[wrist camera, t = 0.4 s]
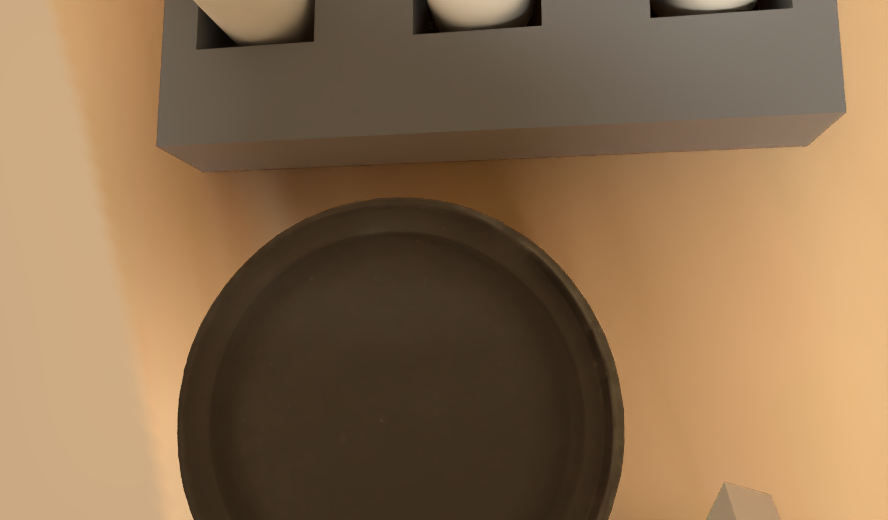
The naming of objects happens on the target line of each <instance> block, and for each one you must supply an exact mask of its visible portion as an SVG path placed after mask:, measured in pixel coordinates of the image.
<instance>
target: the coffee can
mask: <svg viewBox="0 0 888 520" xmlns="http://www.w3.org/2000/svg"><path fill="white" fill-rule="evenodd" d="M177 435H178V457H179V463H180V472H181V478H182V483H183V488H184V492H185V495H186V498H187V501H188V505H189V508H190V511H191V514H192V516H193V519H194V520H608V518H609V515H610V513H611V510H612V506H613V503H614V499H615V495H616V492H617V488H618V484H619V481H620V477H621V471H622V464H623V453H624V408H623V401H622V395H621V390H620V384H619V379H618V374H617V370H616V366H615V362H614V359H613V356H612V353H611V350H610V347H609V345H608V342H607V339H606V337H605V334H604V332H603V330H602V328H601V326H600V324H599V323H598V321H597V319H596V317H595V315H594V313H593V311H592V309H591V307H590V306H589V304H588V303H587V301H586V299H585V298H584V297H583V295H582V294H581V293H580V291H579V290H578V288H577V287H576V286H575V284H574V283H573V282H572V280H571V279H570V278H569V277H568V275H567V274H566V273H565V272H564V271H563V270H562V268H561V267H560V266H559V265H558V264H557V263H556V262H555V261H554V260H553V259H552V258H551V257H550V256H549V255H548V254H547V253H545V252H544V251H543V250H542V249H541V248H540V247H538V246H537V245H536V244H535V243H533V242H532V241H531V240H530V239H528V238H527V237H525V236H524V235H522V234H520V233H519V232H517V231H515V230H513V229H512V228H510V227H508V226H507V225H505V224H503V223H502V222H500V221H498V220H496V219H494V218H492V217H490V216H487V215H485V214H482V213H480V212H477V211H475V210H472V209H469V208H466V207H463V206H459V205H456V204H452V203H447V202H441V201H436V200H430V199H420V198H380V199H373V200H369V201H360V202H354V203H350V204H346V205H342V206H339V207H336V208H332V209H329V210H326V211H324V212H321V213H319V214H317V215H314V216H312V217H309V218H307V219H305V220H303V221H301V222H299V223H297V224H295V225H294V226H292V227H290V228H289V229H287V230H285V231H283V232H282V233H280V234H278V235H277V236H276V237H274V238H273V239H272V240H271V241H269V242H268V243H267V244H266V245H264V246H263V247H262V248H260V249H259V250H258V251H257V252H256V253H255V254H254V255H253V256H252V257H251V258H250V259H249V260H248V261H247V262H246V263H245V264H244V265H243V266H242V267H241V268H240V269H239V270H238V271H237V272H236V273H235V274H234V276H233V277H232V278H231V279H230V280H229V282H228V283H227V284H226V285H225V287H224V288H223V290H222V291H221V292H220V294H219V295H218V297H217V298H216V300H215V301H214V302H213V304H212V305H211V307H210V309H209V311H208V313H207V314H206V316H205V318H204V320H203V321H202V323H201V325H200V327H199V330H198V332H197V334H196V337H195V339H194V341H193V344H192V346H191V349H190V352H189V355H188V358H187V363H186V366H185V368H184V375H183V380H182V385H181V390H180V396H179V406H178V430H177Z"/></svg>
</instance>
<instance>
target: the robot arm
mask: <svg viewBox="0 0 888 520" xmlns="http://www.w3.org/2000/svg"><path fill="white" fill-rule="evenodd" d="M706 520H781V519H780V516H779V514H778V511H777V509H776V506H775V504H774V501H773V499H772V496H771V495H770V494H766V493H763V492H759V491H756V490H752V489H748V488H745V487H741V486H738V485H734V484H730V483H727V482H724V484H723V486H722V488H721V490H720V492H719V494H718V496H717V498H716V500H715V502H714V504H713V506H712V508H711V510H710V512H709V514H708V516H707V518H706Z"/></svg>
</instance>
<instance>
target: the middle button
mask: <svg viewBox="0 0 888 520" xmlns="http://www.w3.org/2000/svg"><path fill="white" fill-rule="evenodd" d="M427 3H428V6H429V9H430V11H431V14H432V17H433V20H434V23H435V25H436V27H437V29H438V30H439V31H440V33H444V32H459V31H473V30H487V29H502V28H516V27H525V26H526V25H527V23H528V21H529V19H530V17H531V14H532V11H533V7H534V0H427Z"/></svg>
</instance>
